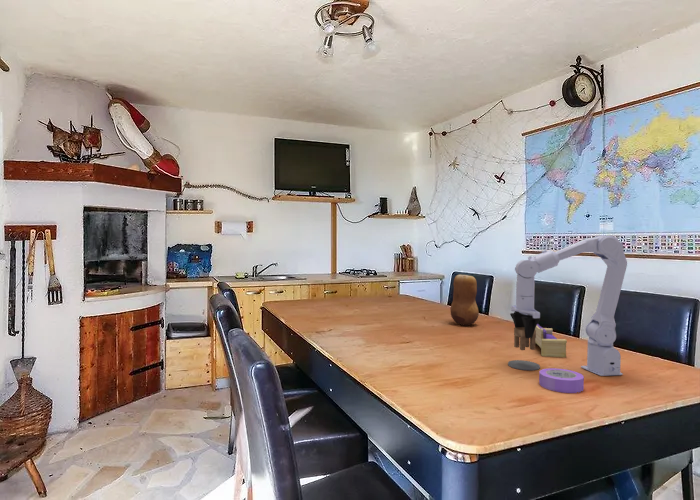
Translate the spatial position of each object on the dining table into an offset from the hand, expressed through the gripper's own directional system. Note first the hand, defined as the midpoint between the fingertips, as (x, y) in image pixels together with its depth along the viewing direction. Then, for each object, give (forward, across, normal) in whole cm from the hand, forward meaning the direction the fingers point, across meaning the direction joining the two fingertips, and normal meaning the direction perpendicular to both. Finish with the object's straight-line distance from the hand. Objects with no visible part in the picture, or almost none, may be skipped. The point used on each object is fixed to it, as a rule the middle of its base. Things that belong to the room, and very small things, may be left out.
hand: (524, 336), depth 148 cm
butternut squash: (+10, -70, +9) cm, 71 cm away
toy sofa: (+11, -19, +21) cm, 30 cm away
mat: (+10, 0, 0) cm, 10 cm away
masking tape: (+11, +20, 0) cm, 23 cm away
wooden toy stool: (+4, 0, 0) cm, 4 cm away
